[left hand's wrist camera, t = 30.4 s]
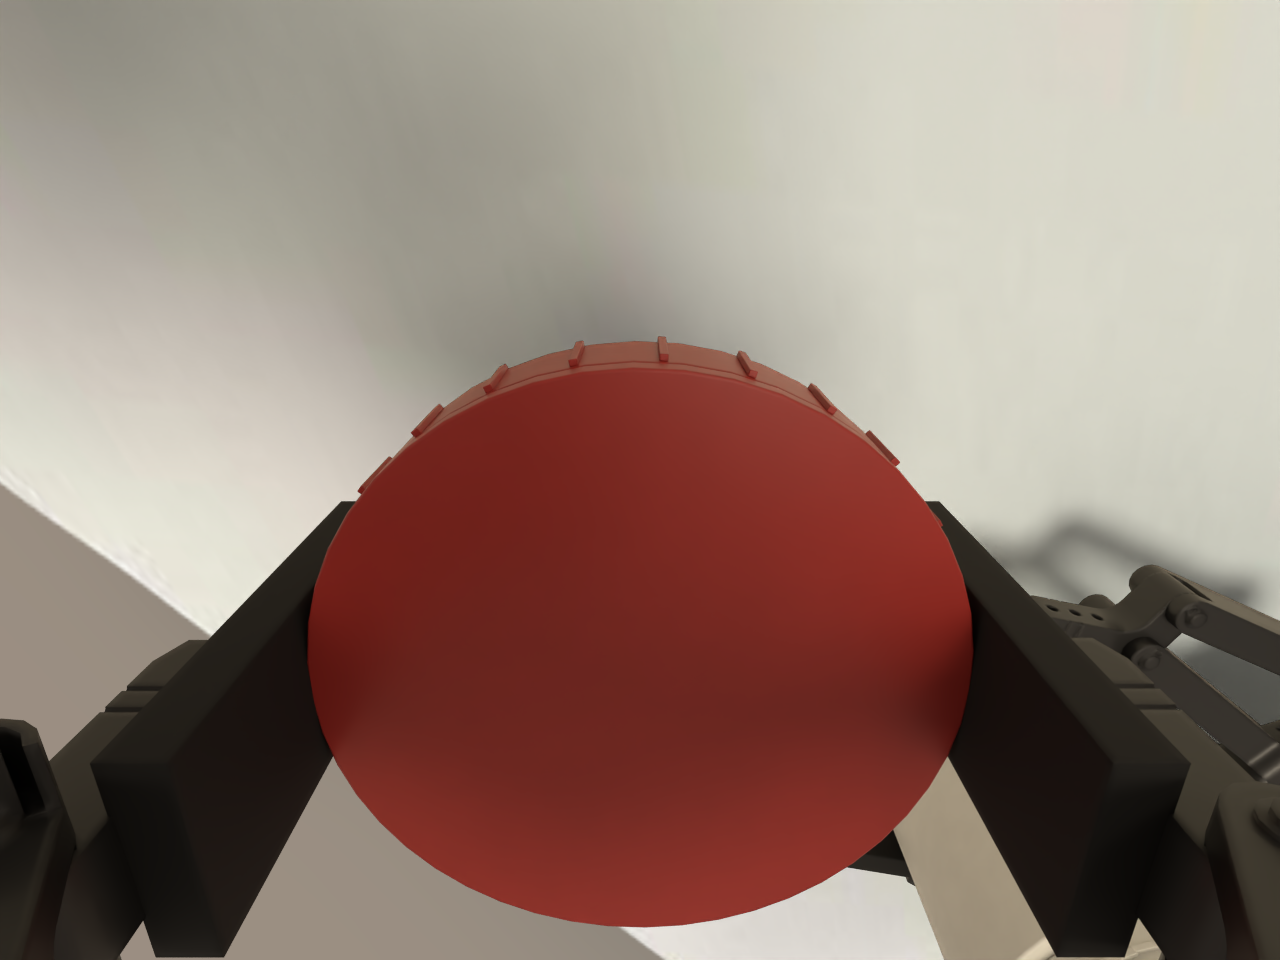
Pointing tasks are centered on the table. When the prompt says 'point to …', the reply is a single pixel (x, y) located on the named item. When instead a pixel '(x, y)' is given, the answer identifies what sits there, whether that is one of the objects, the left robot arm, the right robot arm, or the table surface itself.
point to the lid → (640, 638)
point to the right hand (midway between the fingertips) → (870, 732)
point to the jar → (976, 883)
